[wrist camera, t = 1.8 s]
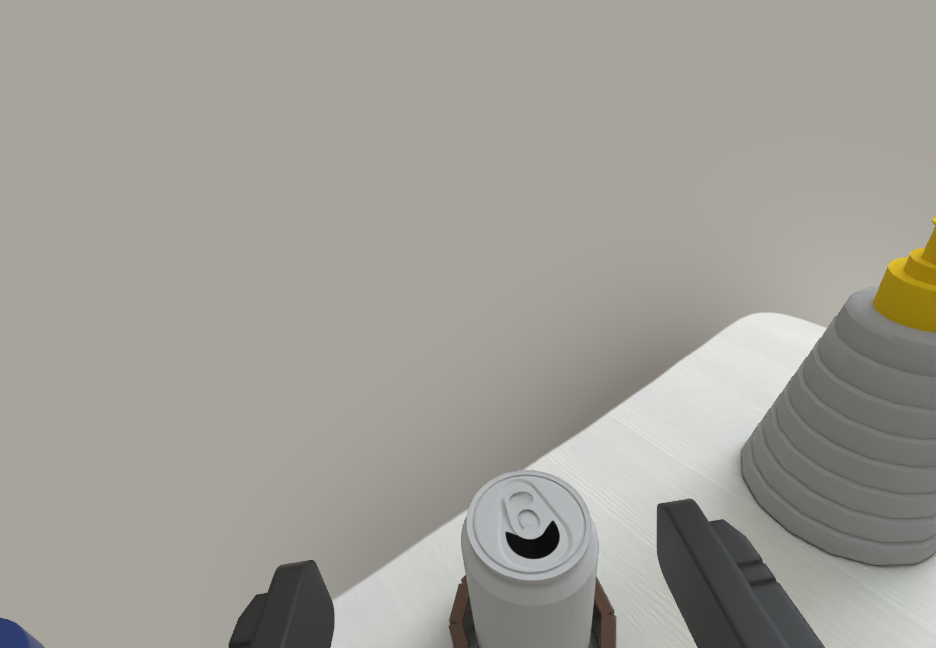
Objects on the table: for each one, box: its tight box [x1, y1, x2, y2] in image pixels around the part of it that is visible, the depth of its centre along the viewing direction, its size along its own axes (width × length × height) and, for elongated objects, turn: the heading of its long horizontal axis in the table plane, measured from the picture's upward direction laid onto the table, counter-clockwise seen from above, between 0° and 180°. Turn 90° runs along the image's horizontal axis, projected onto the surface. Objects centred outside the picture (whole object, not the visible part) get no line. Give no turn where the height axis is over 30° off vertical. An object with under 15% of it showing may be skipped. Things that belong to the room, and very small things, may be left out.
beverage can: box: [461, 470, 599, 648], centre depth 25 cm, size 6×6×12 cm
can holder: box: [449, 575, 616, 648], centre depth 28 cm, size 9×9×3 cm
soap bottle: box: [741, 217, 936, 565], centre depth 30 cm, size 12×12×20 cm
